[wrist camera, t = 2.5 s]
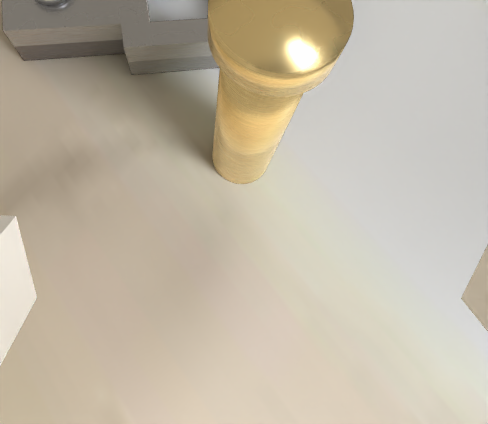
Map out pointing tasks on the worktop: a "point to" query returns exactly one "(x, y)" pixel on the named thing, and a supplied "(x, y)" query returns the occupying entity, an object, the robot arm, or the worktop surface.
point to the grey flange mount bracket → (106, 33)
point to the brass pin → (267, 72)
